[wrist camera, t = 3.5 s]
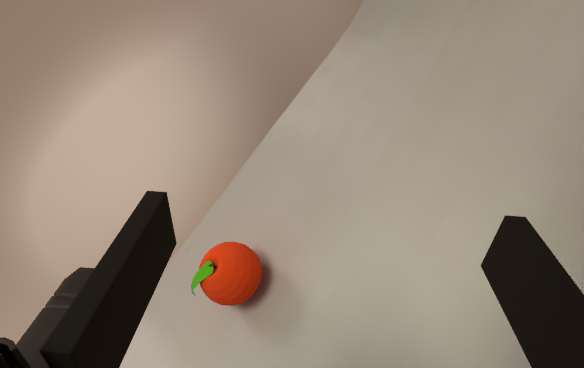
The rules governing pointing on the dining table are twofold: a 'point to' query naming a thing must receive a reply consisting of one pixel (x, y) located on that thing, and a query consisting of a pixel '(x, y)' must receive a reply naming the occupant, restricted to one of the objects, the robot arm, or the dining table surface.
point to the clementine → (229, 273)
